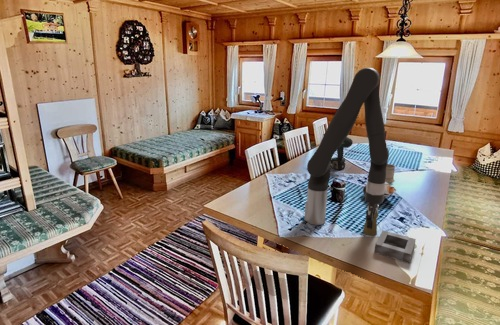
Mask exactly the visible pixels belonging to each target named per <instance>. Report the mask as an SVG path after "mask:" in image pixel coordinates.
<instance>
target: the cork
mask: <svg viewBox="0 0 500 325" xmlns="http://www.w3.org/2000/svg"><path fill="white" fill-rule="evenodd" d="M373 215H374V213H373ZM378 218H379V211H378V212H377V211H376V214H375V217H374V219H373V225H372V229H370V228H367V221H366V220H365V222H364V226H363V229H362V233H363V234H364V235H366V236H369V237H370V236H371V237H374V236H377V235H378V224H377V222H378V221H377V220H378Z"/></svg>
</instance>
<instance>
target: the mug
mask: <svg viewBox="0 0 500 325" xmlns="http://www.w3.org/2000/svg"><path fill="white" fill-rule="evenodd" d="M395 169H396V166H395V165H394V164H391V163H387V167H386V179H385V182H387V183H394V182H395V181H396V180H395V178H394V177H395V176H394V175H395V171H396V170H395Z"/></svg>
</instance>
